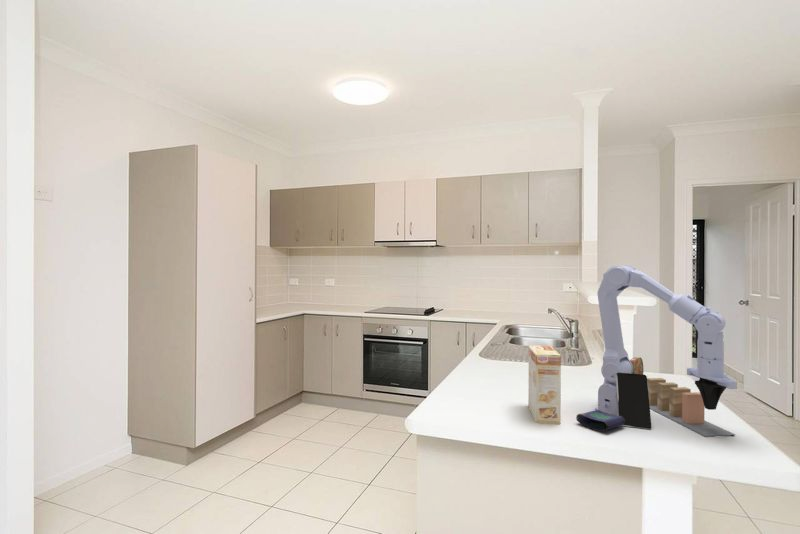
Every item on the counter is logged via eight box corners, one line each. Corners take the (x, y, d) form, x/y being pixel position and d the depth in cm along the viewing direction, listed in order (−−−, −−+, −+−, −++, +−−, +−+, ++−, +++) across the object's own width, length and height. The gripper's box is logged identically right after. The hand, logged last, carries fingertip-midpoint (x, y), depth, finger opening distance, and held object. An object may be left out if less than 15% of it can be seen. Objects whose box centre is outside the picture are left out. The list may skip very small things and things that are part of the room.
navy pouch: (575, 412, 120) (598, 407, 126) (575, 423, 120) (598, 418, 126) (607, 422, 112) (629, 416, 118) (607, 433, 112) (629, 427, 118)
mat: (735, 436, 112) (735, 434, 112) (704, 437, 112) (704, 435, 112) (650, 396, 146) (650, 395, 146) (626, 397, 145) (626, 396, 145)
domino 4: (704, 423, 120) (704, 394, 120) (687, 423, 120) (687, 394, 120) (698, 420, 122) (698, 392, 122) (682, 421, 122) (682, 392, 122)
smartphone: (618, 424, 119) (615, 372, 126) (618, 426, 120) (615, 373, 127) (652, 428, 116) (647, 374, 123) (651, 430, 117) (646, 376, 124)
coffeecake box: (561, 425, 120) (561, 355, 120) (534, 424, 121) (534, 354, 121) (551, 408, 134) (551, 345, 134) (527, 406, 136) (527, 344, 135)
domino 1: (665, 405, 136) (665, 379, 136) (650, 405, 135) (650, 380, 135) (661, 403, 138) (661, 378, 138) (646, 403, 137) (646, 378, 137)
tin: (634, 385, 160) (634, 362, 160) (625, 383, 162) (625, 361, 162) (644, 377, 171) (644, 356, 171) (635, 376, 173) (635, 355, 173)
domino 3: (690, 416, 125) (690, 389, 125) (674, 417, 125) (674, 389, 125) (685, 414, 127) (685, 387, 127) (669, 414, 127) (669, 387, 127)
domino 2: (677, 410, 131) (677, 384, 131) (661, 411, 130) (661, 384, 130) (672, 408, 133) (673, 382, 133) (657, 408, 132) (657, 382, 132)
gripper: (748, 363, 108) (748, 417, 108) (703, 352, 123) (703, 399, 123) (721, 364, 108) (721, 418, 108) (679, 352, 122) (679, 400, 122)
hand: (710, 408), depth 115 cm, fingers closed
